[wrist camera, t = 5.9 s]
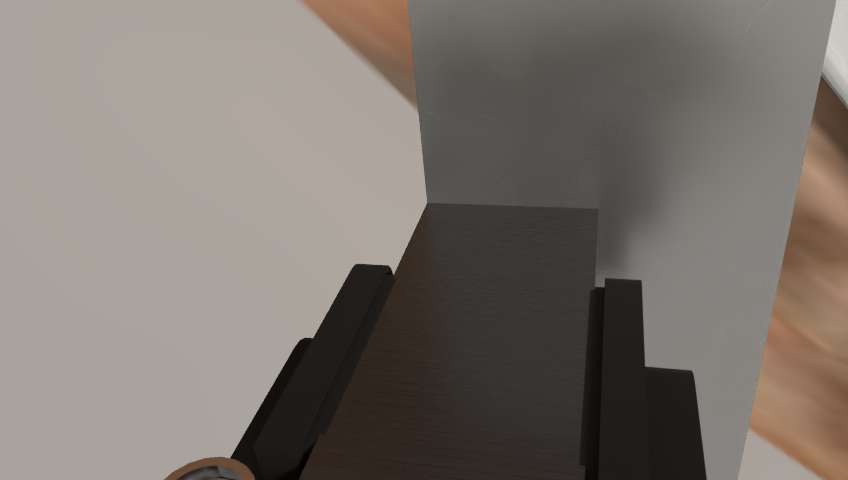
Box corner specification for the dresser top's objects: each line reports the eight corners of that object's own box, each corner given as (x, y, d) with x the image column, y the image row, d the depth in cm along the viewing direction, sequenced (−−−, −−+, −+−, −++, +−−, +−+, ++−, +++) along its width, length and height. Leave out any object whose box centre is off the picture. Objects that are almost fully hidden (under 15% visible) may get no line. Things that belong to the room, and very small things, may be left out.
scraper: (464, 479, 18) (355, 959, 11) (411, -148, 11) (-45, -5, 3) (717, 511, 17) (796, 1093, 9) (851, -187, 9) (1719, -83, 2)
